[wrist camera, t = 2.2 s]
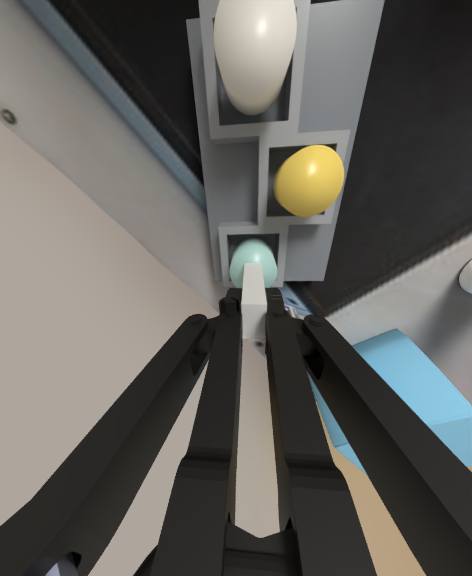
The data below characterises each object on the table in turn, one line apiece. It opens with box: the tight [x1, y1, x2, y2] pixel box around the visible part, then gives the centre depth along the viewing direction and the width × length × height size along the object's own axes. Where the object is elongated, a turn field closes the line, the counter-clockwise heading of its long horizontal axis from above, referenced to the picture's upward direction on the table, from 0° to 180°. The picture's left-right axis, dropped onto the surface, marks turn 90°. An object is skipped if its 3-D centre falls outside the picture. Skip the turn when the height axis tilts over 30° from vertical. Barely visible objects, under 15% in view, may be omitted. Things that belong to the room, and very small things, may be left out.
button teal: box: [229, 238, 277, 288], centre depth 19 cm, size 4×4×4 cm
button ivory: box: [214, 0, 297, 116], centre depth 12 cm, size 4×4×4 cm
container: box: [308, 329, 472, 473], centre depth 29 cm, size 17×25×15 cm
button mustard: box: [273, 145, 344, 217], centre depth 15 cm, size 4×4×4 cm
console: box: [186, 0, 385, 287], centre depth 19 cm, size 22×14×6 cm, turn 2°
